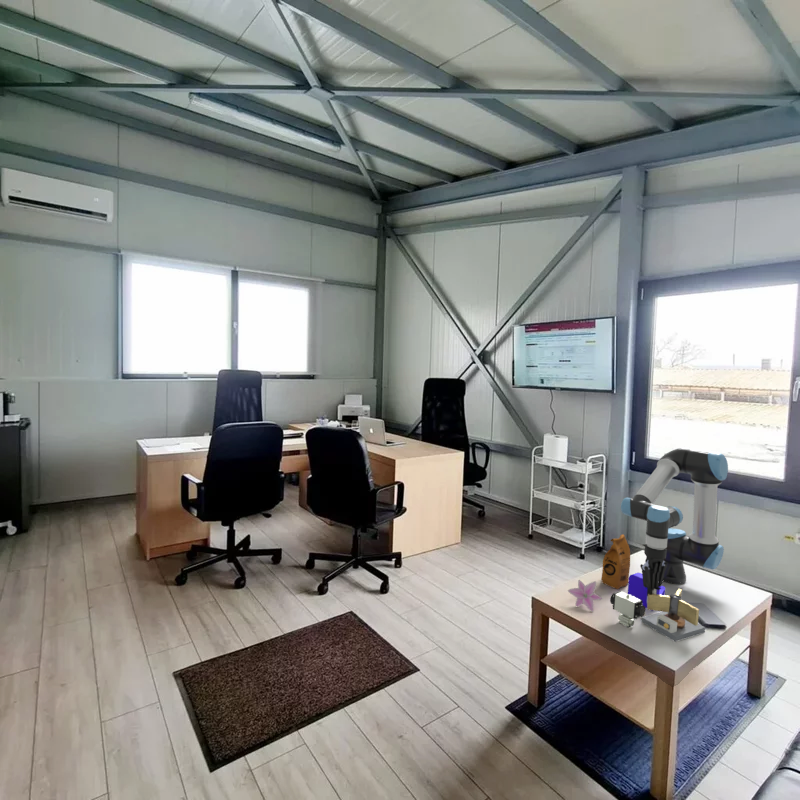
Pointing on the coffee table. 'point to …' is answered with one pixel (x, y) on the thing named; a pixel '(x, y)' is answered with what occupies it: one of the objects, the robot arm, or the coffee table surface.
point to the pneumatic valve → (627, 607)
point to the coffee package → (617, 564)
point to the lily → (585, 594)
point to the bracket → (640, 588)
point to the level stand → (671, 626)
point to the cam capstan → (674, 608)
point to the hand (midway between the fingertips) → (650, 604)
